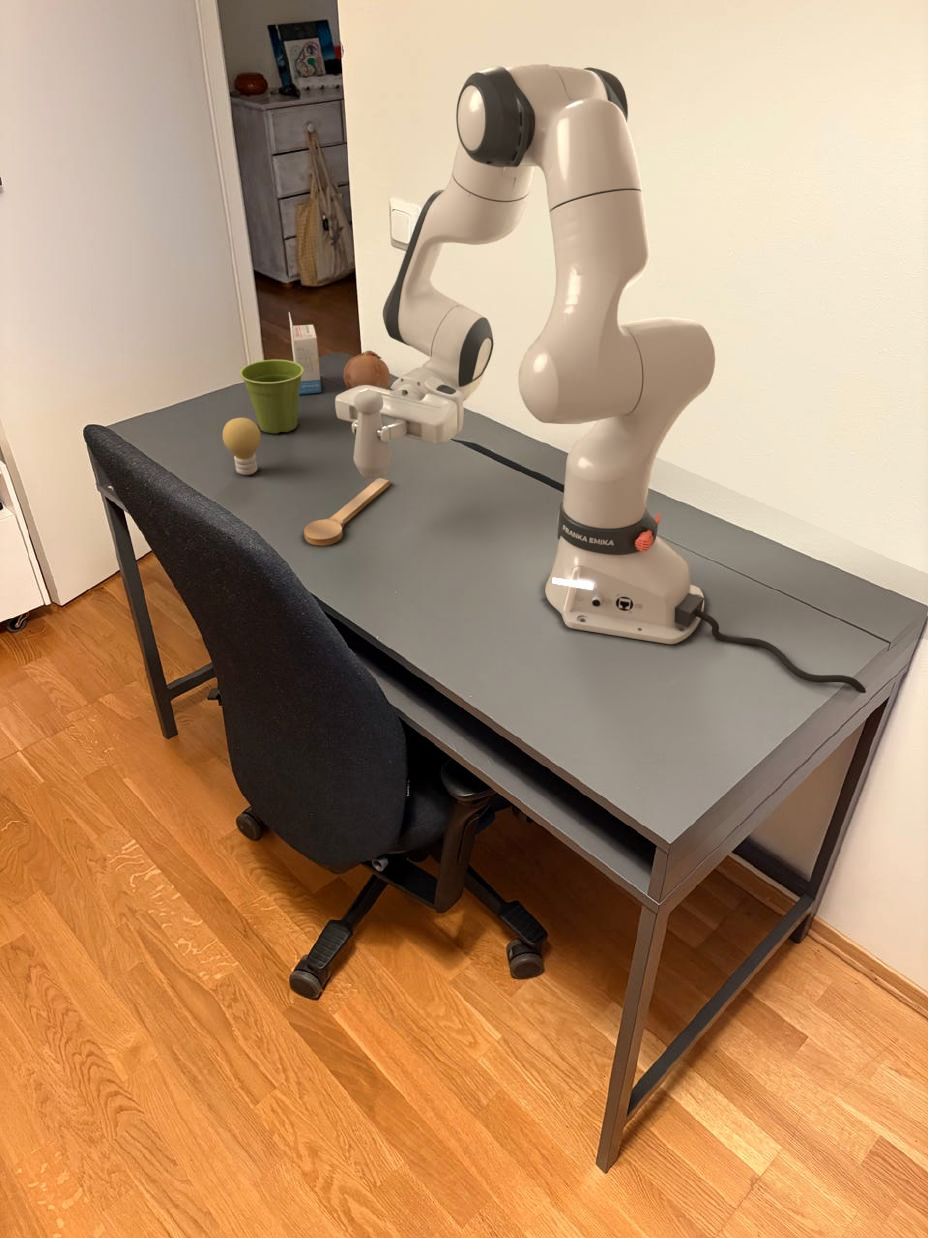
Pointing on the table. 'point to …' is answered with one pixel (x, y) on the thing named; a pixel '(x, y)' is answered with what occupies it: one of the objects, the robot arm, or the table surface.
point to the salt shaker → (370, 436)
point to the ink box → (306, 357)
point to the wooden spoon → (342, 516)
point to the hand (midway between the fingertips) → (367, 433)
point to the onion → (366, 371)
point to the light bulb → (242, 443)
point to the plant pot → (274, 393)
